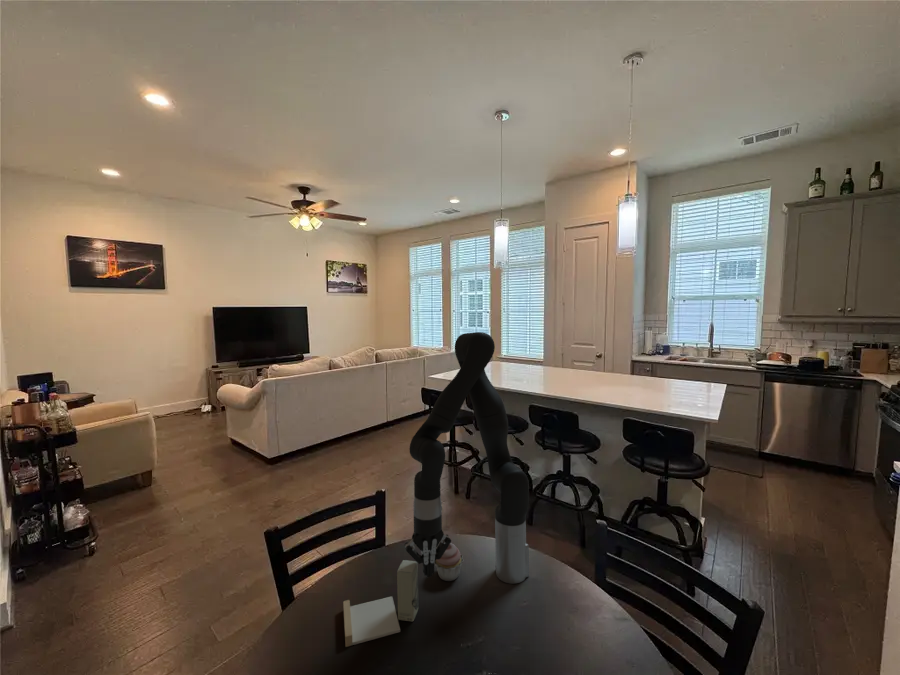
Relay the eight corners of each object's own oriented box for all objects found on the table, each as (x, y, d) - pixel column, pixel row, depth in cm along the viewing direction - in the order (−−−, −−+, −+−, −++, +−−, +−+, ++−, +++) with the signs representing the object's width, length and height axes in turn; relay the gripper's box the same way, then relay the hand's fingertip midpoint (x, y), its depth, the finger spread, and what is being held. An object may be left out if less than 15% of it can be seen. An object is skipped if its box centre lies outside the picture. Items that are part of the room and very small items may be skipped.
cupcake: (430, 583, 108) (430, 550, 108) (436, 563, 118) (436, 533, 117) (462, 587, 107) (461, 553, 107) (465, 566, 116) (465, 535, 116)
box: (413, 622, 94) (412, 573, 94) (397, 620, 95) (396, 571, 95) (419, 607, 99) (418, 560, 99) (403, 605, 100) (402, 558, 100)
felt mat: (392, 598, 103) (392, 589, 103) (400, 631, 91) (400, 622, 91) (343, 610, 99) (343, 601, 98) (345, 647, 87) (345, 636, 87)
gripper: (446, 501, 104) (447, 561, 104) (400, 509, 100) (401, 571, 100) (455, 513, 97) (456, 578, 97) (406, 522, 92) (407, 590, 93)
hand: (428, 575), depth 99 cm, fingers closed
